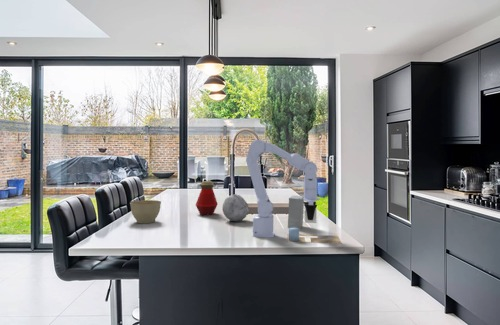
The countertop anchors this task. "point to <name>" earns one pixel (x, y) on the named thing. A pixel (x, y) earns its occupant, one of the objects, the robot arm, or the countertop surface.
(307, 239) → the letter T
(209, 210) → the bottle
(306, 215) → the grey block
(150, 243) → the countertop surface
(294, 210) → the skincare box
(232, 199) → the decorative orb
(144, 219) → the planter bowl
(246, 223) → the countertop surface
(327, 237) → the board
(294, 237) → the blue cylinder
